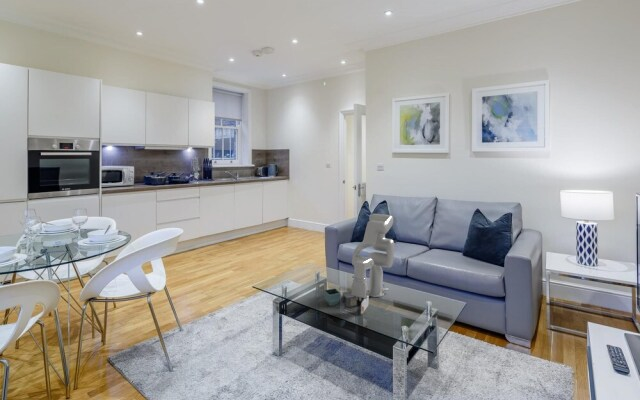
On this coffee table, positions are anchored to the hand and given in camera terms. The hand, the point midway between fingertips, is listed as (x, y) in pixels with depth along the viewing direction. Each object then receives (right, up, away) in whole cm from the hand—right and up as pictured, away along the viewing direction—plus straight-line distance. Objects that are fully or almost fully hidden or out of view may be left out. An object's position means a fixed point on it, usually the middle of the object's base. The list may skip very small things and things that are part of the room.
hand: (359, 305), depth 229 cm
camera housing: (-1, -2, +12) cm, 13 cm away
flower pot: (-17, -3, +11) cm, 21 cm away
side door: (+5, -4, +3) cm, 6 cm away
